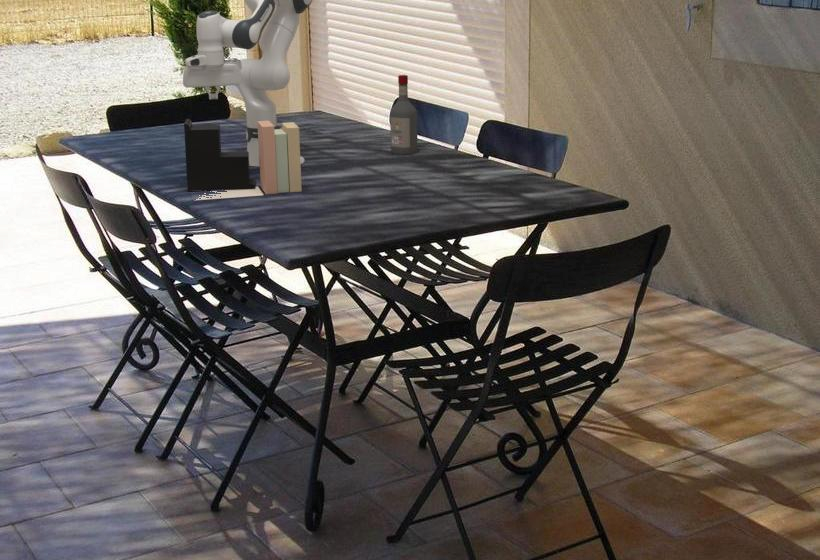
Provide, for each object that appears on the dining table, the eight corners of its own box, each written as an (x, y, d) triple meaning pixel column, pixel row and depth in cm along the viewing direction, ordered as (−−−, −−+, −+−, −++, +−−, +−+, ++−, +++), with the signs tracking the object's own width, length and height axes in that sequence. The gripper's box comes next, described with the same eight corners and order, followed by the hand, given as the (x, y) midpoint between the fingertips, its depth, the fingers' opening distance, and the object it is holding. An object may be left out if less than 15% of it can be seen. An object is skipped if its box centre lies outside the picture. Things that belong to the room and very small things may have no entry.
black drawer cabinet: (256, 182, 430) (252, 116, 423) (255, 189, 419) (252, 121, 413) (189, 184, 428) (185, 118, 421) (187, 191, 417) (182, 123, 410)
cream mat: (257, 187, 424) (257, 186, 424) (264, 196, 411) (263, 195, 411) (188, 192, 418) (188, 191, 418) (192, 201, 405) (192, 200, 405)
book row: (295, 184, 426) (293, 119, 419) (301, 191, 415) (299, 124, 408) (260, 187, 423) (257, 121, 416) (265, 194, 412) (262, 126, 405)
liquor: (407, 155, 472) (406, 77, 463) (388, 153, 477) (386, 76, 468) (420, 151, 479) (419, 75, 471) (401, 149, 484) (399, 73, 475)
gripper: (239, 56, 426) (242, 96, 431) (180, 59, 421) (183, 99, 426) (242, 58, 421) (244, 98, 425) (182, 61, 416) (185, 102, 420)
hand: (213, 99), depth 425 cm, fingers closed
